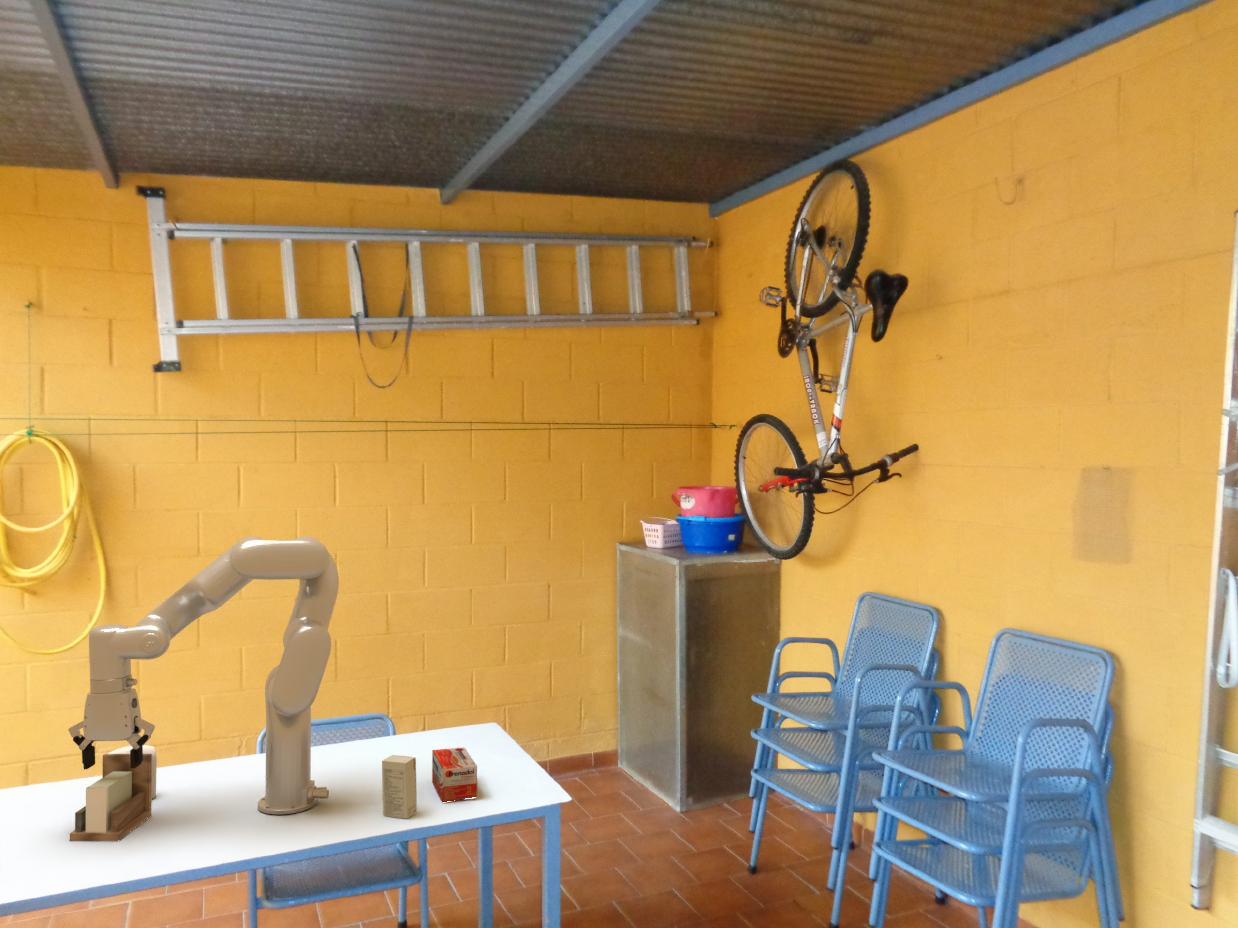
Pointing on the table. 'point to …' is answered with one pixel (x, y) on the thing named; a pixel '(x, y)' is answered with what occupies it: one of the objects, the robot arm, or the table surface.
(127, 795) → the beige rectangular block
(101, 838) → the shelf
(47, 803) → the table surface
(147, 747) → the photo printer
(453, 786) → the medicine box
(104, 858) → the table surface
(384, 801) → the skincare box
